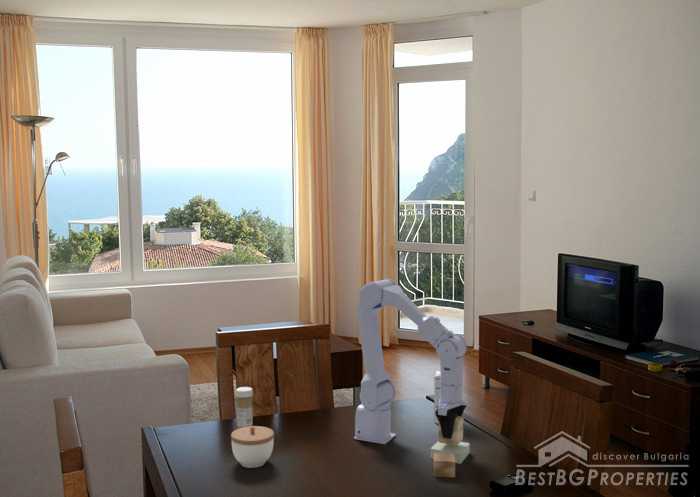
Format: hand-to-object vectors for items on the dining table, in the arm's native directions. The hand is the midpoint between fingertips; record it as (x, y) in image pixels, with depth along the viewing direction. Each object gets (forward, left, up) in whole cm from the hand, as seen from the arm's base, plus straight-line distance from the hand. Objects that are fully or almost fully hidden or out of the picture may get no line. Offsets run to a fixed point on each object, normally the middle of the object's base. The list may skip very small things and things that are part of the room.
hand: (450, 434), depth 178 cm
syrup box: (-10, +25, -6) cm, 28 cm away
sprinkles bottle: (-56, -12, -6) cm, 58 cm away
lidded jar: (-43, -27, -6) cm, 51 cm away
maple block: (0, 0, -2) cm, 2 cm away
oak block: (+2, -11, -6) cm, 13 cm away
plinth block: (0, 0, -6) cm, 6 cm away
